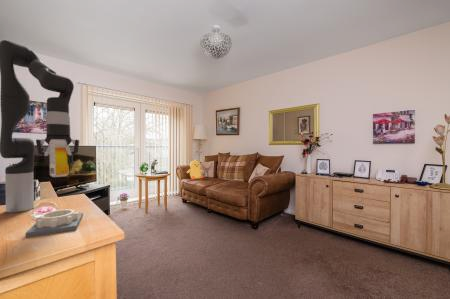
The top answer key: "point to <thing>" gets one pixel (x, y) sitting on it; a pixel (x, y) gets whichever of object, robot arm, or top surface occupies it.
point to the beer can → (58, 158)
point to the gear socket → (55, 222)
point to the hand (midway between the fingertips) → (59, 164)
